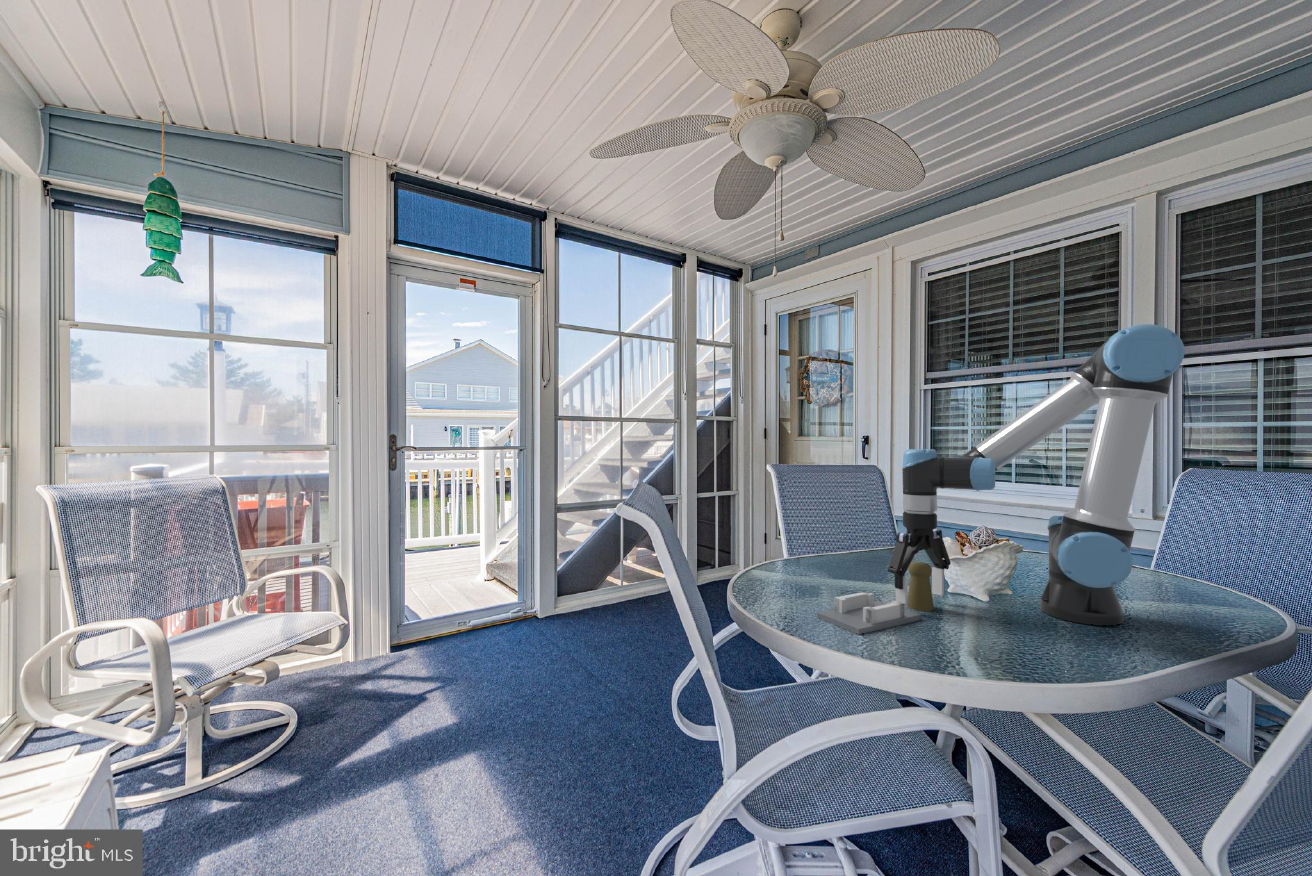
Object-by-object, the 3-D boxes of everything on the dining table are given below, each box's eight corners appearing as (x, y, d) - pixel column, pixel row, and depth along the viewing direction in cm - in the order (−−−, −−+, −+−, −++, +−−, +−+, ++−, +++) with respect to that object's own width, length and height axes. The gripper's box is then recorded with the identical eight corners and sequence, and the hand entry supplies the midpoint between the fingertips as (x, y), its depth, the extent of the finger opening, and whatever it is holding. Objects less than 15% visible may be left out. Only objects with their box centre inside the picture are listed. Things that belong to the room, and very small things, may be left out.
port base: (921, 619, 118) (920, 601, 119) (858, 634, 109) (858, 614, 109) (877, 605, 129) (877, 588, 129) (817, 617, 120) (817, 599, 120)
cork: (933, 613, 123) (932, 566, 123) (905, 608, 126) (904, 563, 127) (935, 606, 128) (934, 561, 129) (908, 602, 132) (907, 558, 132)
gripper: (937, 507, 137) (938, 587, 137) (871, 513, 125) (871, 601, 125) (966, 510, 130) (966, 595, 130) (898, 517, 119) (899, 610, 118)
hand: (920, 598), depth 127 cm, fingers open, 13 cm apart
